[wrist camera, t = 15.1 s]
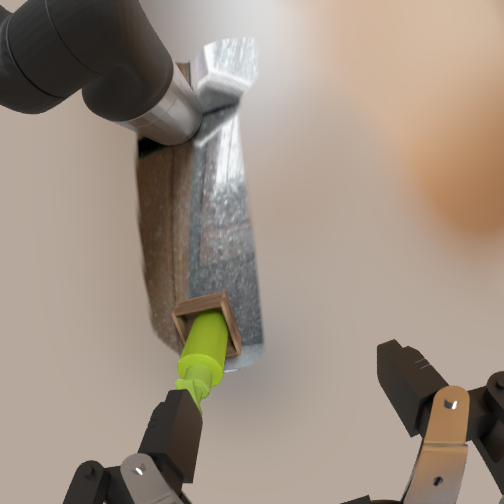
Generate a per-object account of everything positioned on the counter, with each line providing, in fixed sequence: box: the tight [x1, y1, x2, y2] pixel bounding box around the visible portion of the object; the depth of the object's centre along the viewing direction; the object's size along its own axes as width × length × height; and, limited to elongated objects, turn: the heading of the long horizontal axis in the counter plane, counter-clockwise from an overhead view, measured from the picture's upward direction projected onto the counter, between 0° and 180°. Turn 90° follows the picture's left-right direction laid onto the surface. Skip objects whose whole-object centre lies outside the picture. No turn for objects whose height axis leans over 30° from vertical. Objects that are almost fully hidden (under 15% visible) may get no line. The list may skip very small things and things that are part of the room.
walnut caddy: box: [171, 291, 242, 357], centre depth 43 cm, size 9×8×5 cm
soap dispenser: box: [175, 309, 229, 416], centre depth 35 cm, size 6×7×20 cm
